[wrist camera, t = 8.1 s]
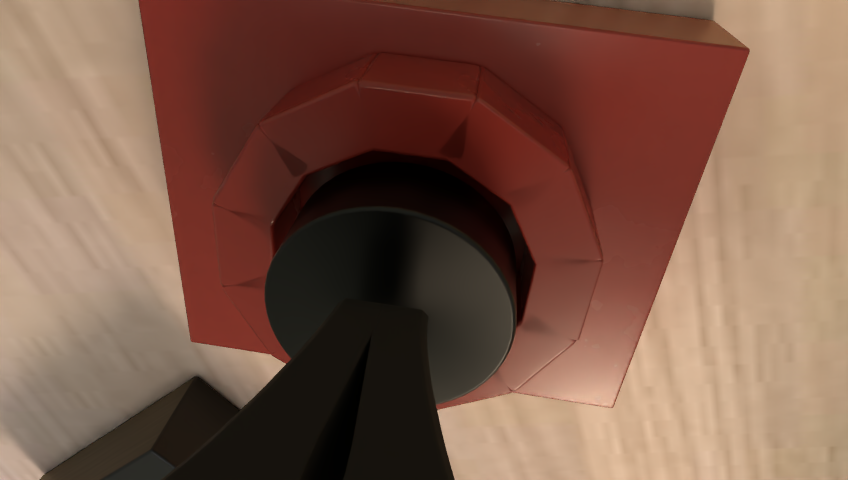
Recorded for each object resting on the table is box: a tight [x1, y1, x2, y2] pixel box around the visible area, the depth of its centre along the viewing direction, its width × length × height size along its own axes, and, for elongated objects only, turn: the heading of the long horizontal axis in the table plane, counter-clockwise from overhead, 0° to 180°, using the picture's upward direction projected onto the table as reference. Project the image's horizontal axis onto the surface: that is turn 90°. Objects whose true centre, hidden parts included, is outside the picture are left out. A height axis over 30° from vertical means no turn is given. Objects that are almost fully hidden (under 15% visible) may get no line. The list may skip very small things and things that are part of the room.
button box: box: [139, 0, 750, 410], centre depth 13 cm, size 11×9×4 cm
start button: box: [265, 162, 517, 405], centre depth 11 cm, size 4×4×2 cm
